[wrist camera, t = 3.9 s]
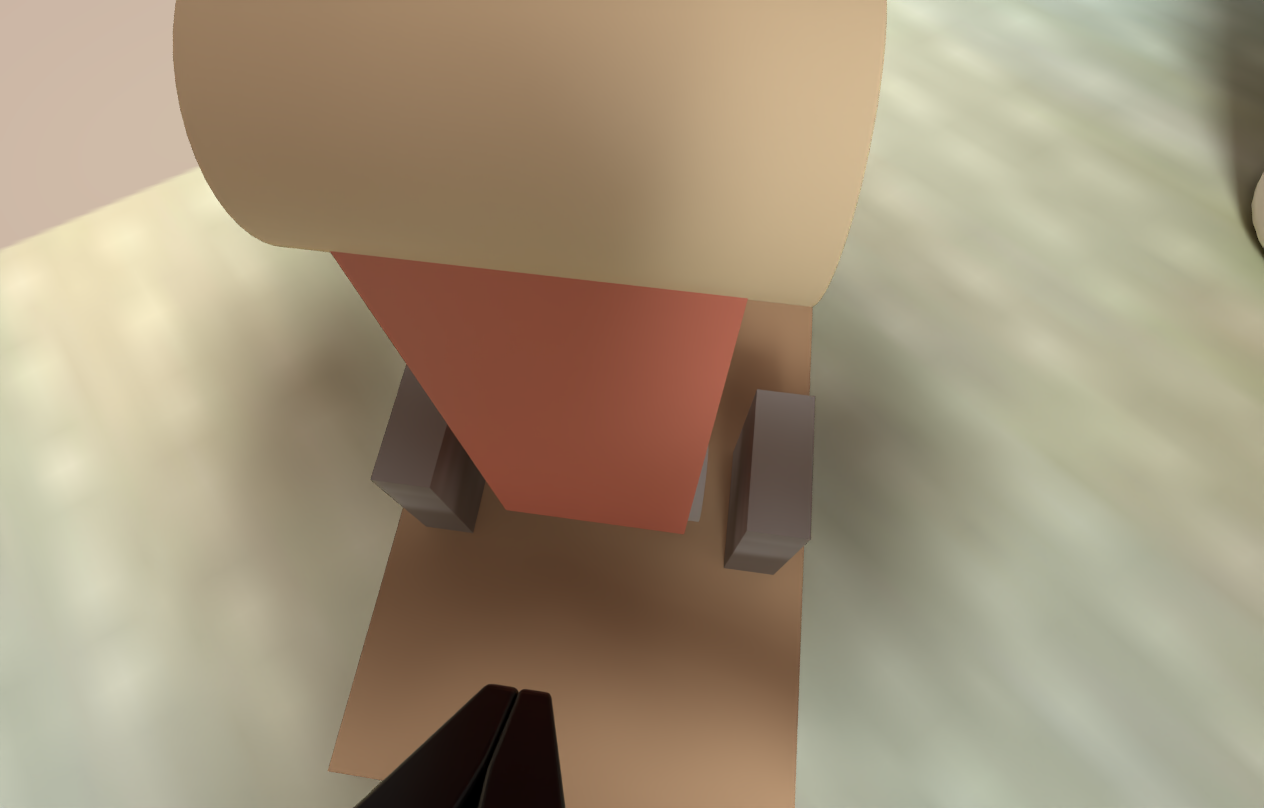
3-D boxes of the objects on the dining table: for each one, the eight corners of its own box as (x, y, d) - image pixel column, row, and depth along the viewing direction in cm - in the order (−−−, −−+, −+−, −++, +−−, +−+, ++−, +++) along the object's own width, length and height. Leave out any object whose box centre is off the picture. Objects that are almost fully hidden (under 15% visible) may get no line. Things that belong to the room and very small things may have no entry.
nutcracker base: (781, 837, 15) (845, 896, 10) (349, 766, 16) (229, 792, 11) (810, 158, 23) (852, 23, 18) (524, 129, 24) (497, -7, 19)
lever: (706, 553, 15) (889, 151, 4) (486, 523, 16) (113, 75, 5) (717, 440, 17) (884, -113, 5) (511, 414, 17) (262, -159, 6)
